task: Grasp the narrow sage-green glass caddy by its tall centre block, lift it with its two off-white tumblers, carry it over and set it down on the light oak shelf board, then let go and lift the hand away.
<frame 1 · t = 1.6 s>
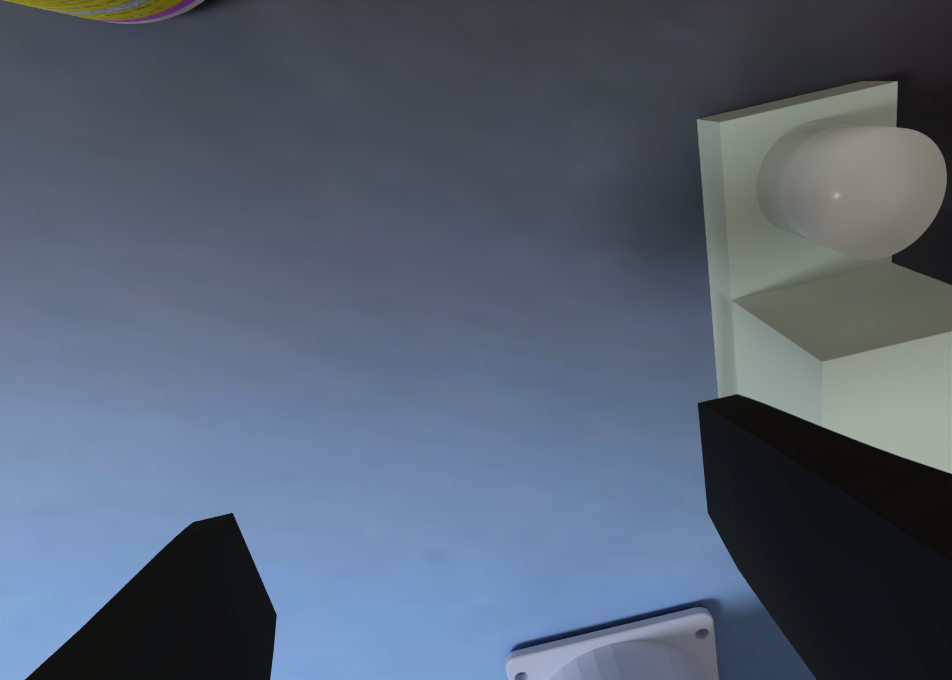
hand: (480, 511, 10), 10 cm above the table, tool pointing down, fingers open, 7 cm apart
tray: (786, 340, 21), on the table
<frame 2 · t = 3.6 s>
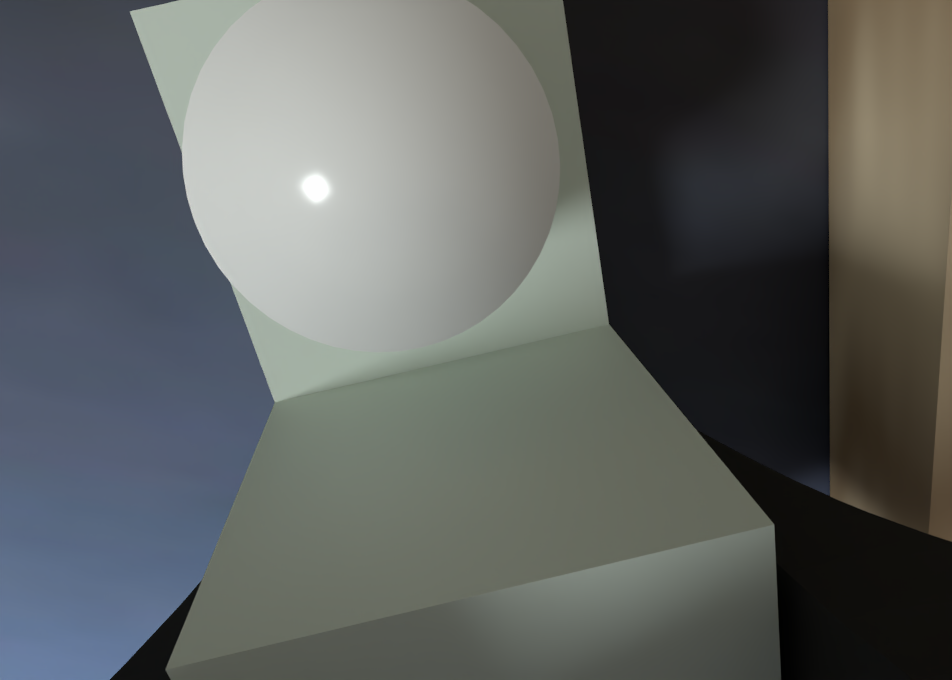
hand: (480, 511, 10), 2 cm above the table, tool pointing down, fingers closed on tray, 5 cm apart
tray: (470, 455, 12), on the table, touching gripper
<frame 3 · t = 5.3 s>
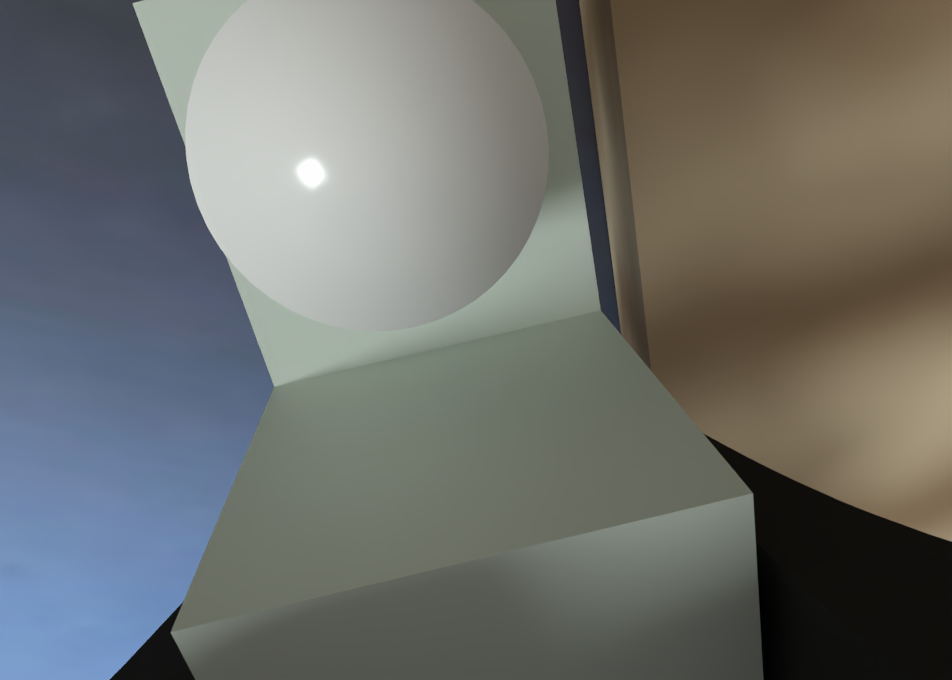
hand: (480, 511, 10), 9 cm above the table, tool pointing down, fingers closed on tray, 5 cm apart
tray: (466, 441, 12), point 7 cm above the table, touching gripper
shelf board: (805, 295, 19), on the table
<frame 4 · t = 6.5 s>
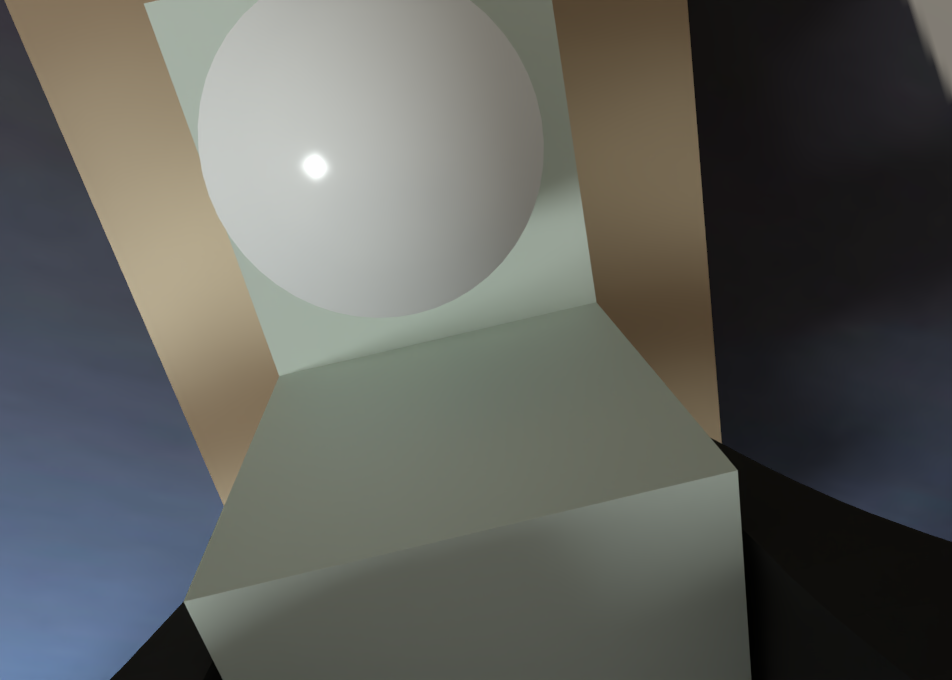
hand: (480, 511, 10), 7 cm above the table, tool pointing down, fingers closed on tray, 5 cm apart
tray: (465, 432, 12), point 4 cm above the table, touching gripper
shelf board: (451, 350, 16), on the table
when the fingers open (6 cm above the table, at t = 7.1 s): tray stays where it is, resting on shelf board.
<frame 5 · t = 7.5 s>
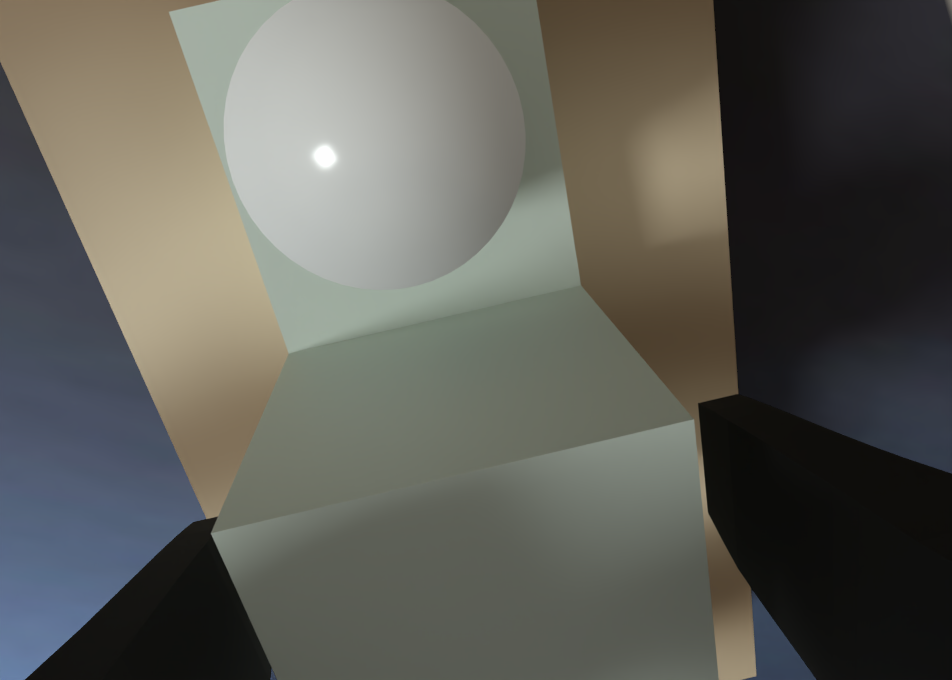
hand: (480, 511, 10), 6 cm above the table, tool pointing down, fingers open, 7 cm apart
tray: (461, 410, 13), point 2 cm above the table, touching shelf board
shelf board: (455, 364, 15), on the table
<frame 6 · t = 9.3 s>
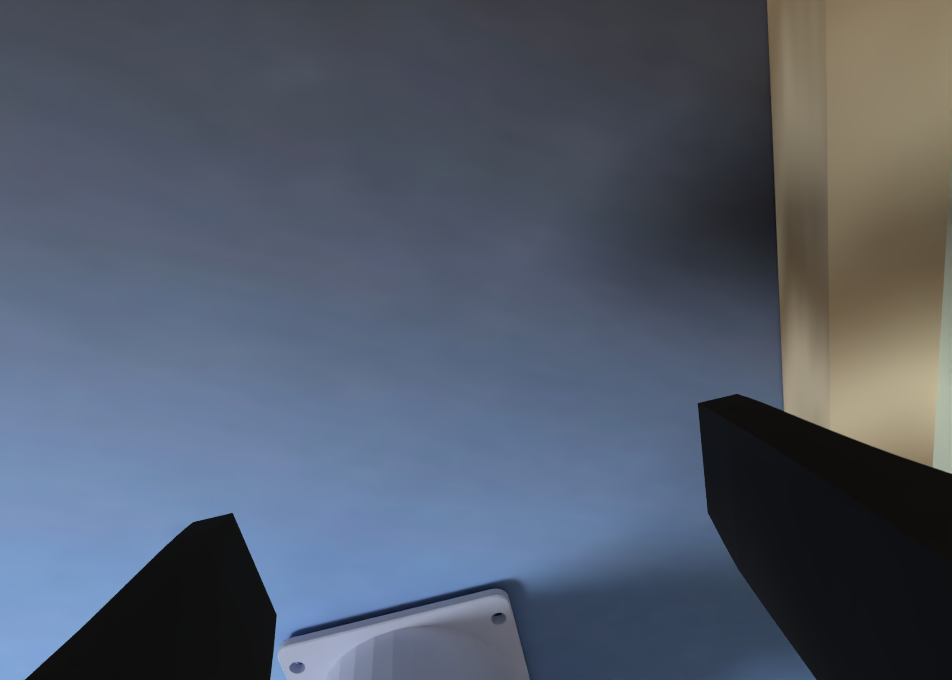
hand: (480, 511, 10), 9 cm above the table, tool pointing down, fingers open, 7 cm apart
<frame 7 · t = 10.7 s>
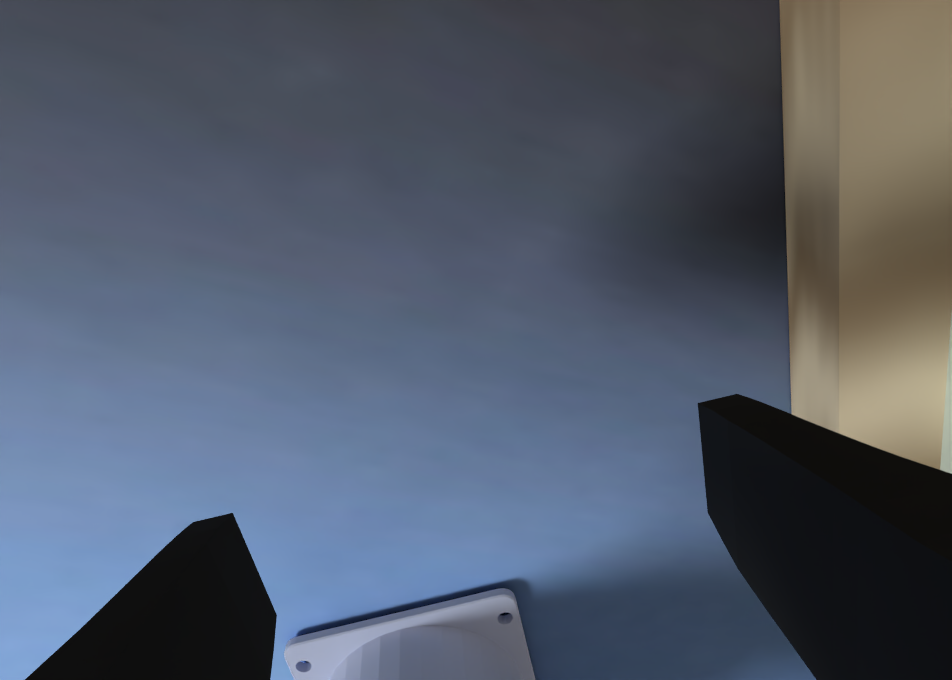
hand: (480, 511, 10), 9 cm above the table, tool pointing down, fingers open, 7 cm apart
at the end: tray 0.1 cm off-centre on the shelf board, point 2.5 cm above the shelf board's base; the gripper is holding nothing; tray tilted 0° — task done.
